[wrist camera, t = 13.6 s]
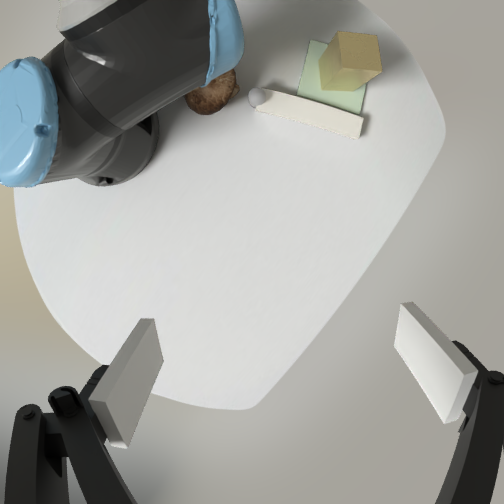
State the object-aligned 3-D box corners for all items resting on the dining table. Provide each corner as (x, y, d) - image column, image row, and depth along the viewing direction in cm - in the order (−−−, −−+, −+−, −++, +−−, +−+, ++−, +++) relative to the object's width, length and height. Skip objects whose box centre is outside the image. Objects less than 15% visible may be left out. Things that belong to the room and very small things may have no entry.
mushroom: (263, 83, 35) (229, 70, 30) (228, 130, 39) (193, 124, 35) (229, 55, 37) (196, 43, 32) (200, 99, 42) (166, 92, 37)
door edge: (246, 108, 39) (245, 104, 36) (251, 88, 38) (251, 83, 35) (354, 139, 40) (361, 138, 36) (358, 119, 39) (366, 117, 36)
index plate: (296, 95, 38) (296, 94, 37) (310, 40, 36) (310, 39, 35) (358, 115, 39) (359, 114, 38) (369, 61, 36) (371, 59, 36)
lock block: (321, 90, 37) (342, 67, 27) (318, 60, 36) (337, 31, 25) (352, 91, 37) (382, 71, 26) (349, 62, 36) (376, 35, 25)
